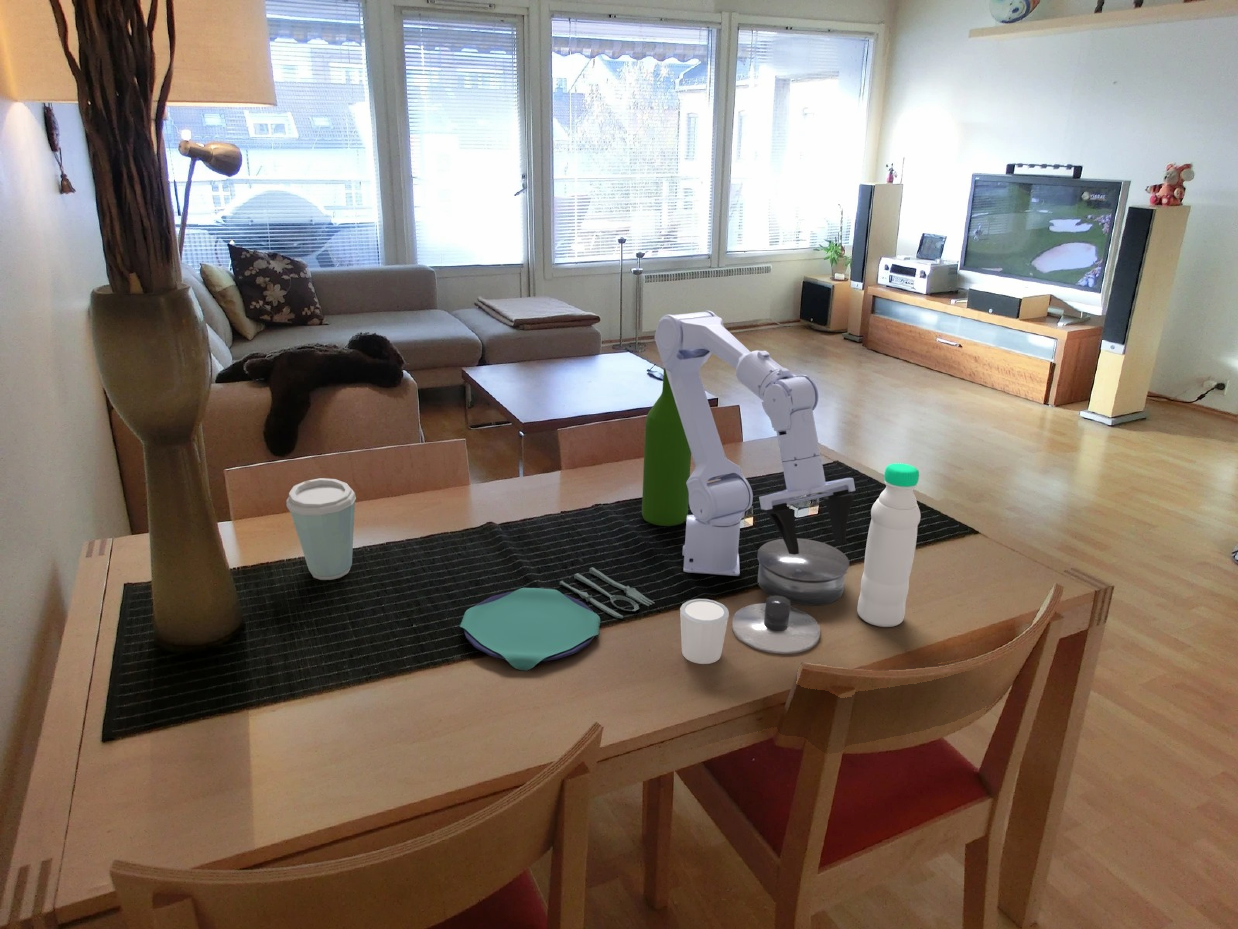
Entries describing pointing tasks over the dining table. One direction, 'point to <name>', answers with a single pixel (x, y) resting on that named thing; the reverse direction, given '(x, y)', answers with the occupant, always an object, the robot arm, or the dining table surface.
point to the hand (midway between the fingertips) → (817, 548)
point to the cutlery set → (540, 622)
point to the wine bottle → (665, 463)
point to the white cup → (703, 630)
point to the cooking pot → (802, 572)
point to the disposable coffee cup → (324, 525)
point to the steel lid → (776, 627)
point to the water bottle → (890, 548)
